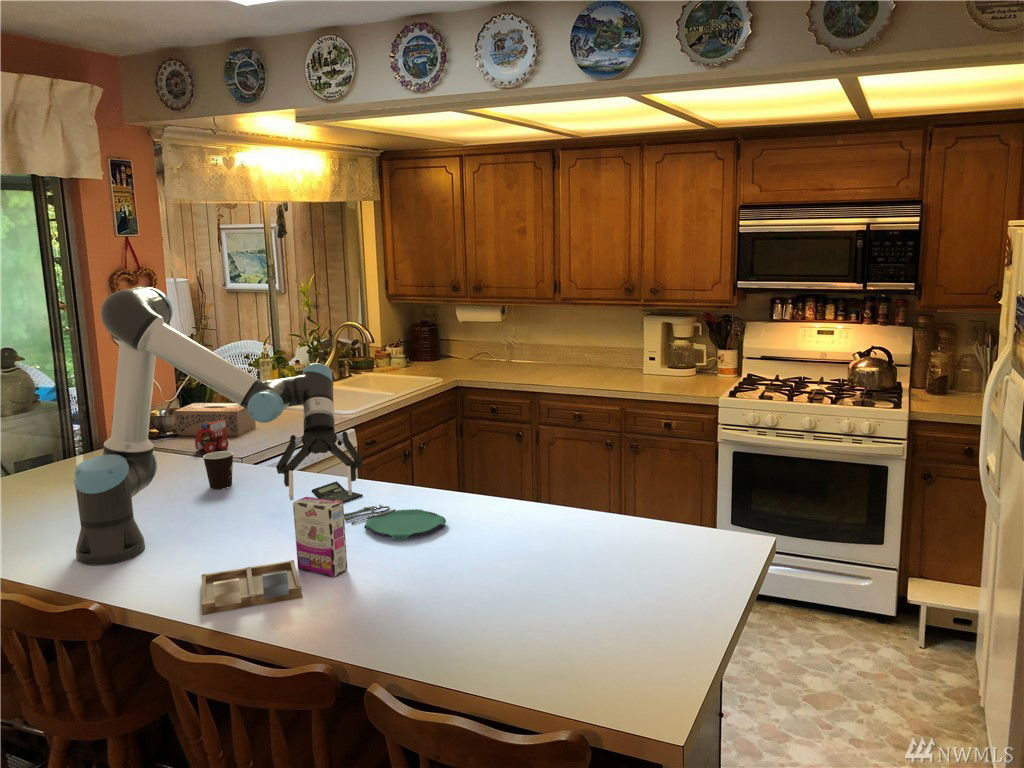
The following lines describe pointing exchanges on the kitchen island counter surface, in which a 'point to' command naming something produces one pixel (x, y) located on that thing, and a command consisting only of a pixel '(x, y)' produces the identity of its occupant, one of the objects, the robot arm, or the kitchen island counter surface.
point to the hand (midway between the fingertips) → (320, 495)
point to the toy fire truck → (212, 436)
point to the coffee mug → (219, 469)
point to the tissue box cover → (213, 418)
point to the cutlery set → (399, 522)
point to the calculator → (334, 493)
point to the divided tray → (249, 587)
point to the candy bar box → (320, 536)
